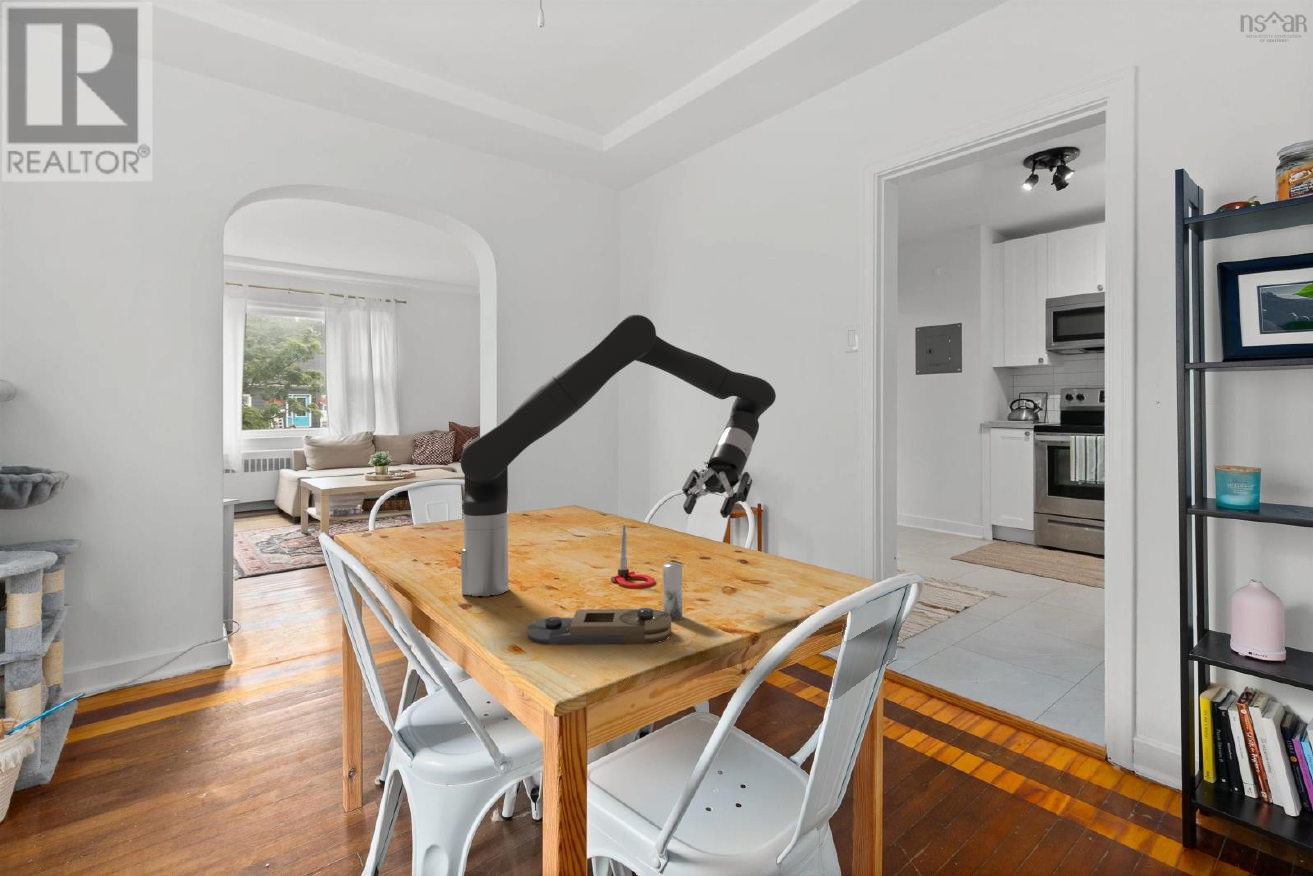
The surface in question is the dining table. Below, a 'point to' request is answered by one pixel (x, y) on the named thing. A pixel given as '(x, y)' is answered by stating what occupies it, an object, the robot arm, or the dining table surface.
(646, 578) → the tow hook
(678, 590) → the steel pin
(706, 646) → the dining table surface
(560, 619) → the square hole link plate
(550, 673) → the dining table surface
